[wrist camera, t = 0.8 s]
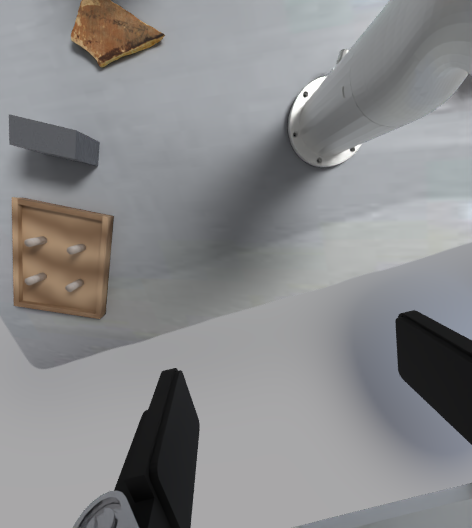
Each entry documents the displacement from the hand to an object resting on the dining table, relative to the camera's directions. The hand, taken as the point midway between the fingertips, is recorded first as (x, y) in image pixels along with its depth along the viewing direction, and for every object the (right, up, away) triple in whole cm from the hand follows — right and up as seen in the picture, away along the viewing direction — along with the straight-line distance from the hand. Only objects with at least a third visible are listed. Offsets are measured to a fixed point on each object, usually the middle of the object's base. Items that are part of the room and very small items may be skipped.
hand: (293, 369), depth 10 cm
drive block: (-28, +22, +26) cm, 44 cm away
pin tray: (-31, +5, +30) cm, 44 cm away
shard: (-19, +38, +23) cm, 48 cm away
